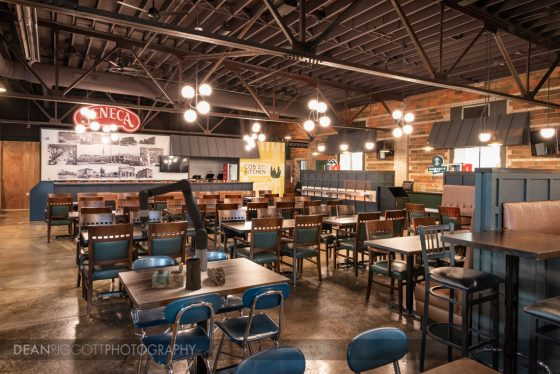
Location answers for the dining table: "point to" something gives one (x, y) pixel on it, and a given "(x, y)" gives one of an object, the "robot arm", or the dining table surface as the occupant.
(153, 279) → the clear plastic box
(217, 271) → the burrito
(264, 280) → the dining table surface
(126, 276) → the dining table surface
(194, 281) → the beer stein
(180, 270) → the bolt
